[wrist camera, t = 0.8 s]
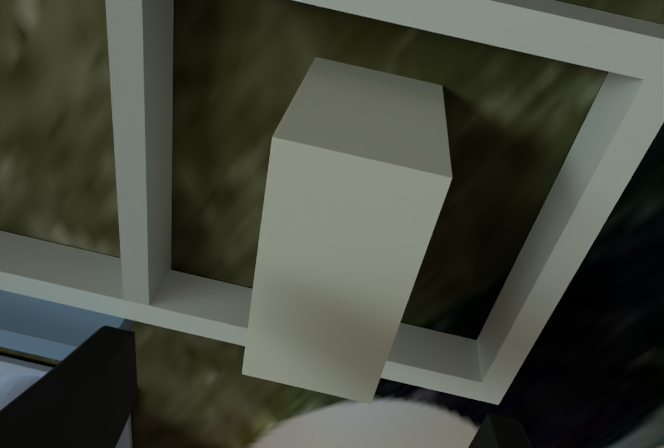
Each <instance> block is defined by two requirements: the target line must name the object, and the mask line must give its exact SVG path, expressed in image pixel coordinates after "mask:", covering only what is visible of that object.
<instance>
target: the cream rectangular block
mask: <svg viewBox="0 0 664 448" xmlns="http://www.w3.org/2000/svg"><path fill="white" fill-rule="evenodd" d="M451 180H452V170H451V161H450V152H449V143H448V133H447V124H446V115H445V106H444V97H443V87H442V85H437V84H433V83H429V82H424V81H420V80H415V79H411V78H406V77H402V76H398V75H393V74H389V73H384V72H380V71H375V70H371V69H367V68H362V67H358V66H353V65H349V64H345V63H340V62H336V61H331V60H327V59H322V58H318V57H316V58H315V59H314V61H313V63H312V65H311V67H310V69H309V70H308V72H307V74H306V76H305V78H304V80H303V81H302V83H301V85H300V87H299V89H298V91H297V92H296V94H295V96H294V98H293V100H292V102H291V103H290V105H289V107H288V109H287V111H286V113H285V114H284V116H283V118H282V120H281V122H280V124H279V125H278V127H277V129H276V131H275V133H274V135H273V137H272V143H271V151H270V159H269V166H268V174H267V182H266V190H265V198H264V205H263V213H262V221H261V229H260V236H259V244H258V252H257V260H256V268H255V275H254V283H253V291H252V299H251V306H250V314H249V322H248V330H247V338H246V345H245V353H244V361H243V369H242V374H244V375H248V376H253V377H257V378H261V379H266V380H270V381H274V382H279V383H283V384H287V385H291V386H296V387H300V388H304V389H309V390H313V391H317V392H322V393H326V394H330V395H334V396H339V397H343V398H347V399H352V400H356V401H360V402H365V403H369V404H371V402H372V399H373V396H374V394H375V391H376V388H377V385H378V383H379V380H380V377H381V374H382V371H383V369H384V366H385V363H386V360H387V358H388V355H389V352H390V349H391V347H392V344H393V341H394V338H395V335H396V333H397V330H398V327H399V324H400V322H401V319H402V316H403V313H404V310H405V308H406V305H407V302H408V299H409V297H410V294H411V291H412V288H413V286H414V283H415V280H416V277H417V274H418V272H419V269H420V266H421V263H422V261H423V258H424V255H425V252H426V250H427V247H428V244H429V241H430V238H431V236H432V233H433V230H434V227H435V225H436V222H437V219H438V216H439V214H440V211H441V208H442V205H443V202H444V200H445V197H446V194H447V191H448V189H449V186H450V183H451Z"/></svg>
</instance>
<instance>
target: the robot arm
mask: <svg viewBox="0 0 664 448" xmlns="http://www.w3.org/2000/svg"><path fill="white" fill-rule="evenodd" d="M137 397H138V390H137V371H136V351H135V332H132V331H128V330H124V329H119V328H115V327H111V326H106V325H105V326H103V327H101V328H99V329H98V330H97V331H96V332H95V333H94V334H92V335H91V336H90V337H89V338H88V339H87V340H85V341H84V342H83V343H82V344H81V345H80V346H79V347H77V348H76V349H75V350H74V351H73V352H71V353H70V354H69V355H68V356H67V357H66V358H64V359H63V360H62V361H61V362H60V363H58V364H57V365H56V366H55V367H54V368H53V367H48V366H44V365H40V364H36V363H31V362H27V361H23V360H18V359H14V358H10V357H5V356H1V355H0V448H133V447H132V430H131V411H132V409H133V406H134V404H135V402H136V399H137ZM469 448H532V446H531V444H530V442H529V440H528V438H527V436H526V434H525V432H524V429H523V427H522V425H521V424H520V422H519V420H516V419H512V418H508V417H503V416H499V415H495V414H490V413H488V414H487V416H486V417H485V419H484V421H483V423H482V425H481V426H480V428H479V430H478V432H477V433H476V435H475V437H474V439H473V441H472V442H471V444H470V446H469Z"/></svg>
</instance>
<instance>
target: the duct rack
mask: <svg viewBox="0 0 664 448" xmlns="http://www.w3.org/2000/svg"><path fill="white" fill-rule="evenodd" d="M294 1H298V2H302V3H307V4H311V5H316V6H320V7H325V8H329V9H333V10H338V11H342V12H347V13H351V14H356V15H360V16H364V17H369V18H373V19H378V20H382V21H387V22H391V23H396V24H400V25H404V26H409V27H413V28H418V29H422V30H427V31H431V32H435V33H440V34H444V35H449V36H453V37H458V38H462V39H466V40H471V41H475V42H480V43H484V44H489V45H493V46H498V47H502V48H506V49H511V50H515V51H520V52H524V53H529V54H533V55H537V56H542V57H546V58H551V59H555V60H560V61H564V62H568V63H573V64H577V65H582V66H586V67H591V68H595V69H600V70H604V71H608V74H607V76H606V78H605V80H604V82H603V84H602V86H601V88H600V90H599V92H598V95H597V97H596V99H595V101H594V103H593V105H592V107H591V109H590V111H589V113H588V115H587V117H586V119H585V121H584V123H583V125H582V127H581V129H580V131H579V133H578V135H577V137H576V139H575V141H574V143H573V145H572V147H571V149H570V152H569V154H568V156H567V158H566V160H565V162H564V164H563V166H562V168H561V170H560V172H559V174H558V176H557V178H556V180H555V182H554V184H553V186H552V188H551V190H550V192H549V194H548V196H547V198H546V200H545V202H544V204H543V206H542V209H541V211H540V213H539V215H538V217H537V219H536V221H535V223H534V225H533V227H532V229H531V231H530V233H529V235H528V237H527V239H526V241H525V243H524V245H523V247H522V249H521V251H520V253H519V255H518V257H517V259H516V261H515V263H514V266H513V268H512V270H511V272H510V274H509V276H508V278H507V280H506V282H505V284H504V286H503V288H502V290H501V292H500V294H499V296H498V298H497V300H496V302H495V304H494V306H493V308H492V310H491V312H490V314H489V316H488V318H487V320H486V323H485V325H484V327H483V329H482V331H481V333H480V335H479V337H478V339H477V340H473V339H469V338H465V337H460V336H456V335H452V334H447V333H443V332H439V331H434V330H430V329H426V328H421V327H417V326H413V325H408V324H404V323H400V324H399V327H398V330H397V333H396V335H395V338H394V341H393V344H392V347H391V349H390V352H389V355H388V358H387V360H386V363H385V366H384V369H383V371H382V374H381V377H380V378H385V379H389V380H393V381H398V382H402V383H406V384H411V385H415V386H419V387H424V388H428V389H432V390H437V391H441V392H445V393H450V394H454V395H458V396H463V397H467V398H471V399H476V400H480V401H484V402H489V403H493V404H497V405H499V403H500V401H501V400H502V398H503V396H504V394H505V393H506V391H507V389H508V388H509V386H510V384H511V382H512V381H513V379H514V377H515V376H516V374H517V372H518V370H519V369H520V367H521V365H522V364H523V362H524V360H525V358H526V357H527V355H528V353H529V352H530V350H531V348H532V346H533V345H534V343H535V341H536V340H537V338H538V336H539V335H540V333H541V331H542V329H543V328H544V326H545V324H546V323H547V321H548V319H549V317H550V316H551V314H552V312H553V311H554V309H555V307H556V305H557V304H558V302H559V300H560V299H561V297H562V295H563V293H564V292H565V290H566V288H567V287H568V285H569V283H570V281H571V280H572V278H573V276H574V275H575V273H576V271H577V269H578V268H579V266H580V264H581V263H582V261H583V259H584V258H585V256H586V254H587V252H588V251H589V249H590V247H591V246H592V244H593V242H594V240H595V239H596V237H597V235H598V234H599V232H600V230H601V228H602V227H603V225H604V223H605V222H606V220H607V218H608V216H609V215H610V213H611V211H612V210H613V208H614V206H615V204H616V203H617V201H618V199H619V198H620V196H621V194H622V193H623V191H624V189H625V187H626V186H627V184H628V182H629V181H630V179H631V177H632V175H633V174H634V172H635V170H636V169H637V167H638V165H639V163H640V162H641V160H642V158H643V157H644V155H645V153H646V151H647V150H648V148H649V146H650V145H651V143H652V141H653V139H654V138H655V136H656V134H657V133H658V131H659V129H660V127H661V126H662V124H663V122H664V25H662V24H657V23H653V22H648V21H644V20H639V19H635V18H630V17H626V16H622V15H617V14H613V13H608V12H604V11H599V10H595V9H590V8H586V7H582V6H577V5H573V4H568V3H564V2H559V1H555V0H294ZM106 17H107V34H108V50H109V67H110V84H111V100H112V117H113V134H114V150H115V167H116V183H117V200H118V217H119V233H120V250H121V258H117V257H113V256H109V255H104V254H100V253H96V252H91V251H87V250H82V249H78V248H74V247H69V246H65V245H61V244H56V243H52V242H48V241H43V240H39V239H35V238H30V237H26V236H22V235H17V234H13V233H9V232H4V231H0V347H4V348H9V349H13V350H17V351H22V352H26V353H30V354H34V355H39V356H43V357H47V358H52V359H56V360H60V361H62V360H63V359H64V358H66V357H67V356H68V355H69V354H70V353H71V352H73V351H74V350H75V349H76V348H77V347H79V346H80V345H81V344H82V343H83V342H84V341H85V340H87V339H88V338H89V337H90V336H91V335H92V334H94V333H95V332H96V331H97V330H98V329H99V328H101V327H103V326H105V325H106V326H111V327H115V328H119V329H124V330H128V331H129V330H130V328H131V326H132V325H133V323H134V322H135V321H138V322H143V323H147V324H151V325H156V326H160V327H164V328H168V329H173V330H177V331H181V332H186V333H190V334H194V335H199V336H203V337H207V338H212V339H216V340H220V341H225V342H229V343H233V344H238V345H242V346H245V345H246V338H247V330H248V322H249V314H250V306H251V299H252V291H253V289H252V288H248V287H243V286H239V285H235V284H230V283H226V282H221V281H217V280H213V279H208V278H204V277H200V276H195V275H191V274H187V273H182V272H178V271H174V270H171V225H172V122H173V19H174V0H106Z"/></svg>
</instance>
